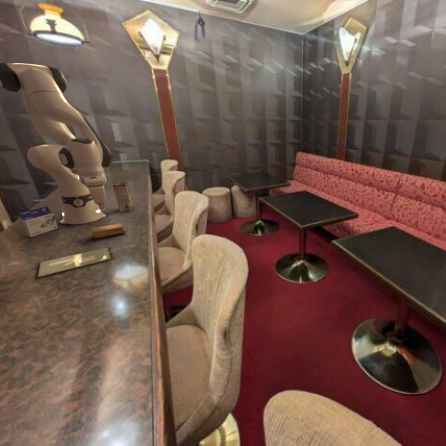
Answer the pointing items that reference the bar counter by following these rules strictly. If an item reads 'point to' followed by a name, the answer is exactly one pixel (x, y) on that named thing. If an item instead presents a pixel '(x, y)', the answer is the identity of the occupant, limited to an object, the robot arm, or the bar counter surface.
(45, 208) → the ink box
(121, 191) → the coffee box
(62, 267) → the chalk board
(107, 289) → the bar counter surface
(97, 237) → the eraser
